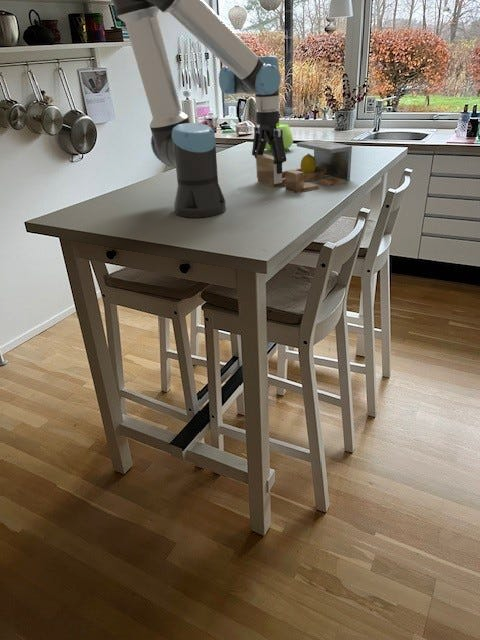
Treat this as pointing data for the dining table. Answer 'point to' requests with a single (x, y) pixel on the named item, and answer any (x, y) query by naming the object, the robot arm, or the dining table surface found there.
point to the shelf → (331, 157)
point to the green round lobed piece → (286, 136)
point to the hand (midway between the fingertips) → (269, 180)
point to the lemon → (308, 164)
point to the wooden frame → (267, 171)
